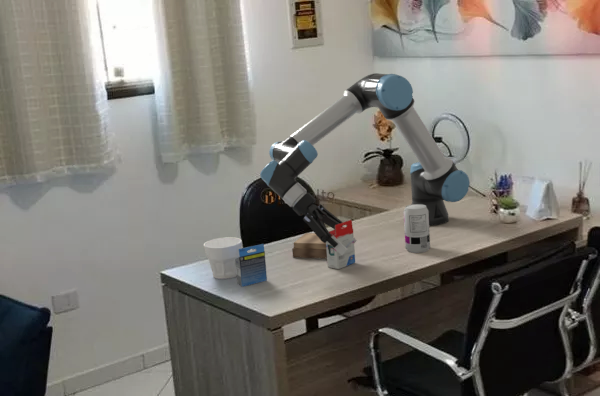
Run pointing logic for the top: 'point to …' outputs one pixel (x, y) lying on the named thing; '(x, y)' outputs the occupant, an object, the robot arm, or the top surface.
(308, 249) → the pedestal
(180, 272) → the top surface
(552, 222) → the top surface
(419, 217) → the supplement can
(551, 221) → the top surface
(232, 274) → the cup
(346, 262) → the ink box
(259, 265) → the label tape box
